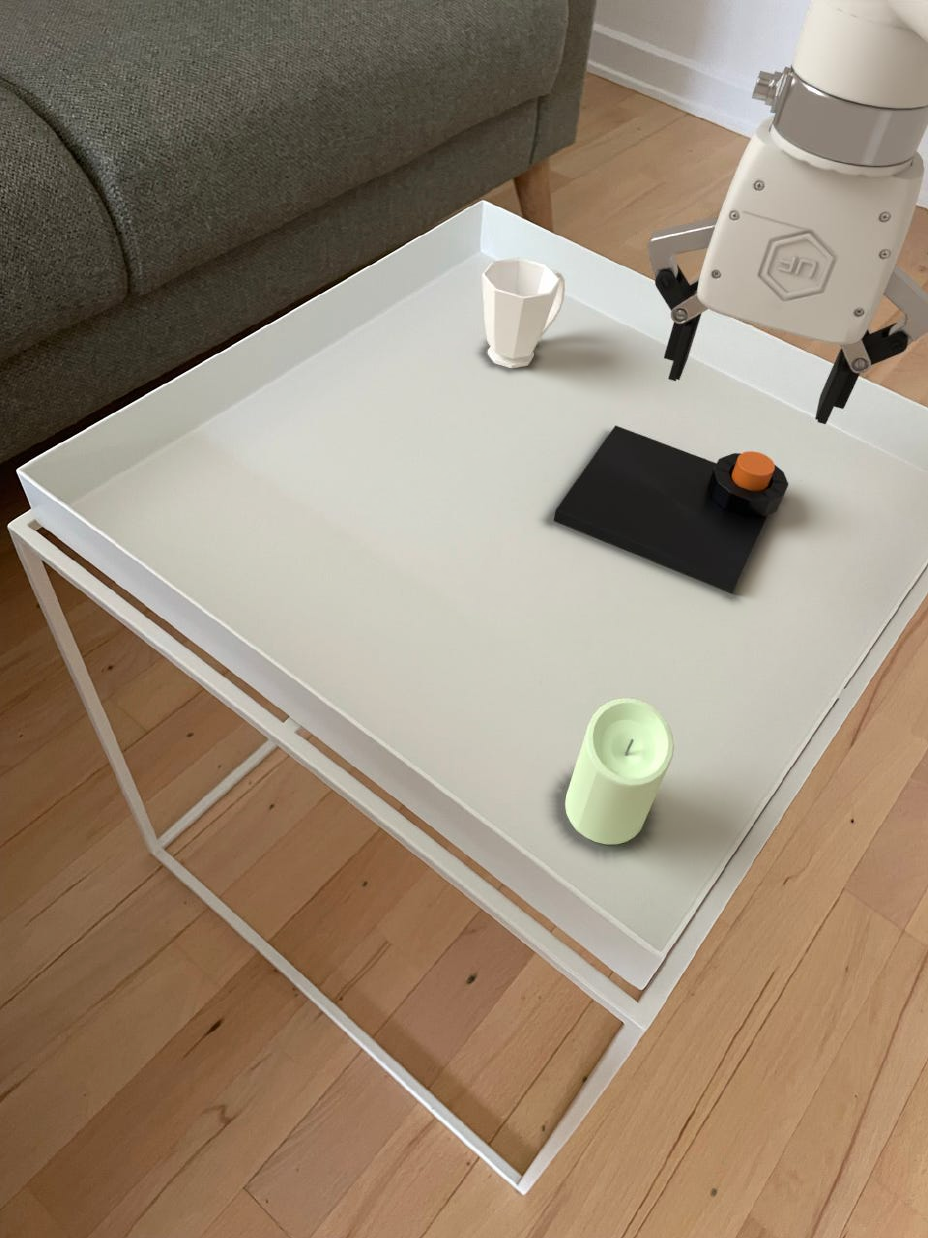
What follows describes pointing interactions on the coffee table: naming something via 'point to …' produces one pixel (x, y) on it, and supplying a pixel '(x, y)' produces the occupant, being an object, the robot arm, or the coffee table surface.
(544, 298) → the cup
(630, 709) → the candle
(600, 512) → the scale
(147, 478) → the coffee table surface
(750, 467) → the button
